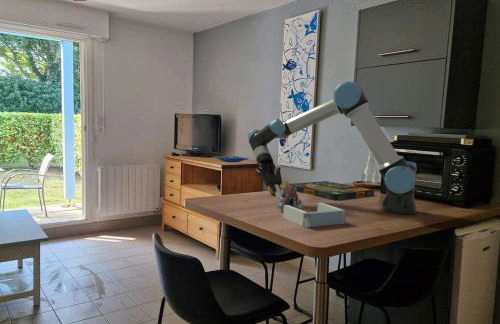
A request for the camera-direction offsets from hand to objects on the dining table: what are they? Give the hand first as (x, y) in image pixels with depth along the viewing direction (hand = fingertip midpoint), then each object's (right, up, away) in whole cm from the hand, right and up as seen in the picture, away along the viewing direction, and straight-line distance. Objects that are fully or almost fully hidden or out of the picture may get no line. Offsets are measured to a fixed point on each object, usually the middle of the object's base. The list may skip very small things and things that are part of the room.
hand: (279, 197), depth 169 cm
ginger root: (+3, -2, +32) cm, 32 cm away
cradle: (+11, -7, -20) cm, 24 cm away
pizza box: (+32, -2, +48) cm, 58 cm away
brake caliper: (+4, -5, -7) cm, 10 cm away
